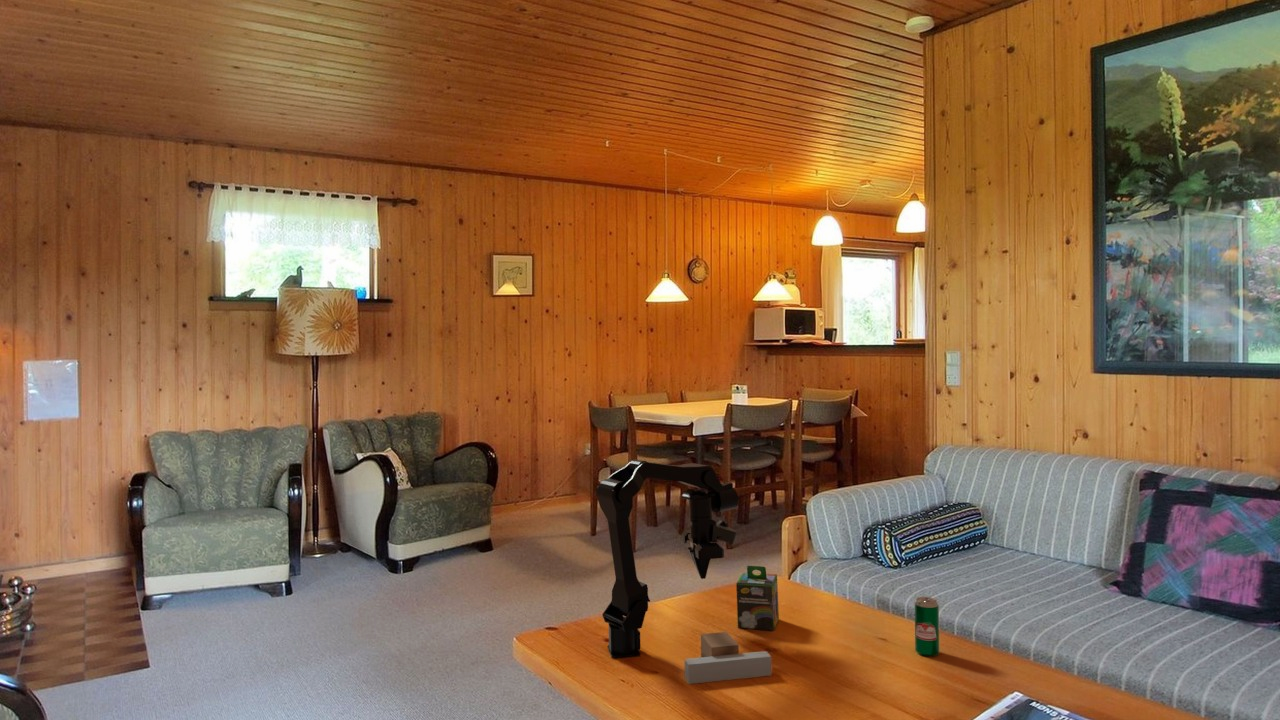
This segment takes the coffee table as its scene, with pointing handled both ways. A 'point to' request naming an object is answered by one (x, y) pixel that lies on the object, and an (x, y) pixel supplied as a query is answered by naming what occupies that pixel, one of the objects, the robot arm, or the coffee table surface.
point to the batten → (727, 667)
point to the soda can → (927, 626)
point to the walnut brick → (718, 644)
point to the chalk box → (757, 599)
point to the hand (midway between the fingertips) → (703, 578)
